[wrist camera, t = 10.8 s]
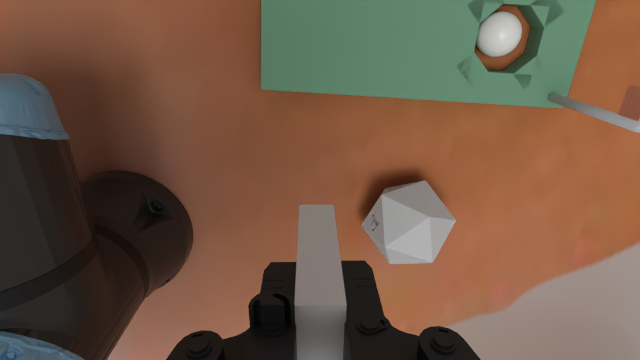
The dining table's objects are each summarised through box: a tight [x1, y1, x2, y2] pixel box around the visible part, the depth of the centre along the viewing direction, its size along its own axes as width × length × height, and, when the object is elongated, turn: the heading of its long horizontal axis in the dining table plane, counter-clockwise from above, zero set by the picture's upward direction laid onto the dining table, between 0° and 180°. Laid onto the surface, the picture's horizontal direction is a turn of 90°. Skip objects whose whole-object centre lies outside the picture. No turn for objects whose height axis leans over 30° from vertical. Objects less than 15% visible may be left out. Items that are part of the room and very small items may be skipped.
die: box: [361, 180, 456, 264], centre depth 42 cm, size 8×9×10 cm
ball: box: [476, 11, 522, 57], centre depth 37 cm, size 4×4×4 cm
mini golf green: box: [261, 0, 640, 133], centre depth 32 cm, size 30×12×14 cm, turn 86°
